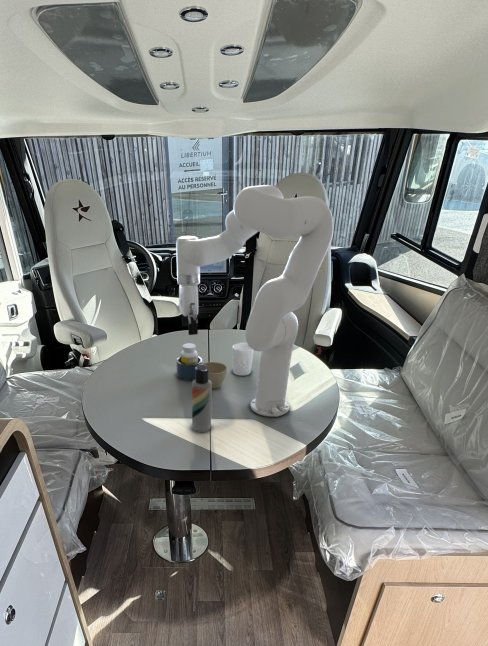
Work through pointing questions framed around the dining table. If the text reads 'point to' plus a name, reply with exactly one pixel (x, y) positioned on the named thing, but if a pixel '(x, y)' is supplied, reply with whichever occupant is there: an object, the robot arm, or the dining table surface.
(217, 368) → the flower pot
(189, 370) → the canister
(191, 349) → the pill bottle
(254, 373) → the dining table surface
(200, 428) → the lotion bottle
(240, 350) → the white cup
